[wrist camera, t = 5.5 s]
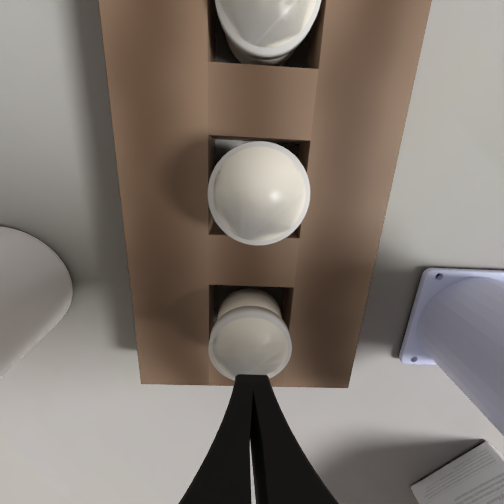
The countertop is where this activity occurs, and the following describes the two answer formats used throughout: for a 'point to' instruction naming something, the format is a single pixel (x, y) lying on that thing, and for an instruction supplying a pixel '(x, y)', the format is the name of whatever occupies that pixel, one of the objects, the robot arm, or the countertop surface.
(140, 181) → the knob board
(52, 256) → the pill bottle
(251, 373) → the outer knob
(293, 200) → the middle knob
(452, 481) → the supplement box
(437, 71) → the countertop surface
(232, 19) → the outer knob
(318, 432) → the countertop surface
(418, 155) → the countertop surface
